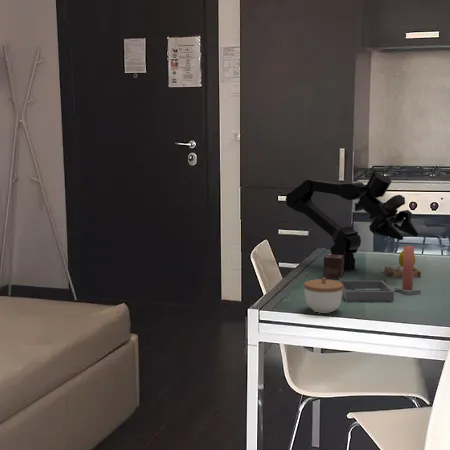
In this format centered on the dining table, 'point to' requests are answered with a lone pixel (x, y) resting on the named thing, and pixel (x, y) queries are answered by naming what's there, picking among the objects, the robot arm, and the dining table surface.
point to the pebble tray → (400, 274)
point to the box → (333, 266)
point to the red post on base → (408, 273)
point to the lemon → (403, 258)
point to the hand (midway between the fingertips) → (410, 237)
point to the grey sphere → (394, 268)
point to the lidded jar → (323, 294)
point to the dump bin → (367, 291)
